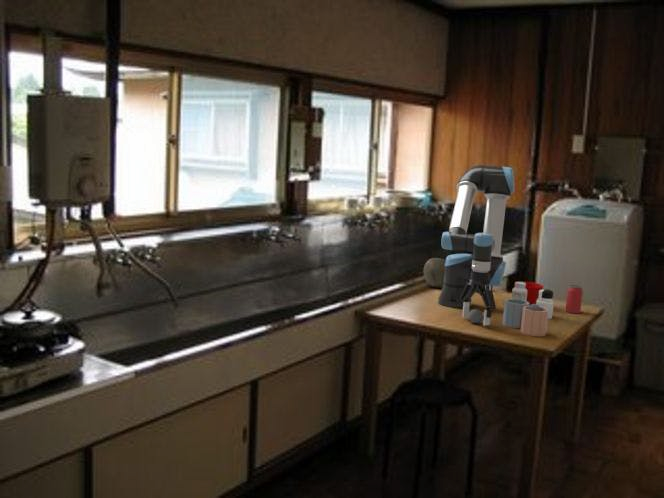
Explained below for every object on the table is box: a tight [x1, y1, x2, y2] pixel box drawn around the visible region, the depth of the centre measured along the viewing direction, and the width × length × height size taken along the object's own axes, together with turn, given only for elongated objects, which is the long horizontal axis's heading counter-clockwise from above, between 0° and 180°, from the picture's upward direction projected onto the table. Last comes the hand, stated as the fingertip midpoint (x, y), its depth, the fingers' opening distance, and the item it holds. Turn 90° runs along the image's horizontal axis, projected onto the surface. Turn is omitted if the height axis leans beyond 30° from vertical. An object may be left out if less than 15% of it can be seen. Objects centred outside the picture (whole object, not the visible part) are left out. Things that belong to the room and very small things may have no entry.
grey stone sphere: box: [422, 257, 446, 289], centre depth 374 cm, size 14×14×15 cm
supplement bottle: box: [511, 281, 527, 301], centre depth 333 cm, size 7×7×13 cm
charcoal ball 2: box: [527, 304, 542, 311], centre depth 296 cm, size 6×6×6 cm
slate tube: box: [501, 298, 529, 329], centre depth 306 cm, size 10×10×10 cm
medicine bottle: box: [536, 288, 555, 320], centre depth 325 cm, size 7×7×12 cm
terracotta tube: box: [519, 306, 549, 337], centre depth 296 cm, size 10×10×10 cm
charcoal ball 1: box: [468, 308, 484, 324], centre depth 306 cm, size 6×6×6 cm
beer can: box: [565, 284, 584, 314], centre depth 337 cm, size 7×7×12 cm
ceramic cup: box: [522, 281, 544, 306], centre depth 347 cm, size 13×17×10 cm
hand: (475, 321), depth 306 cm, fingers open, 13 cm apart
